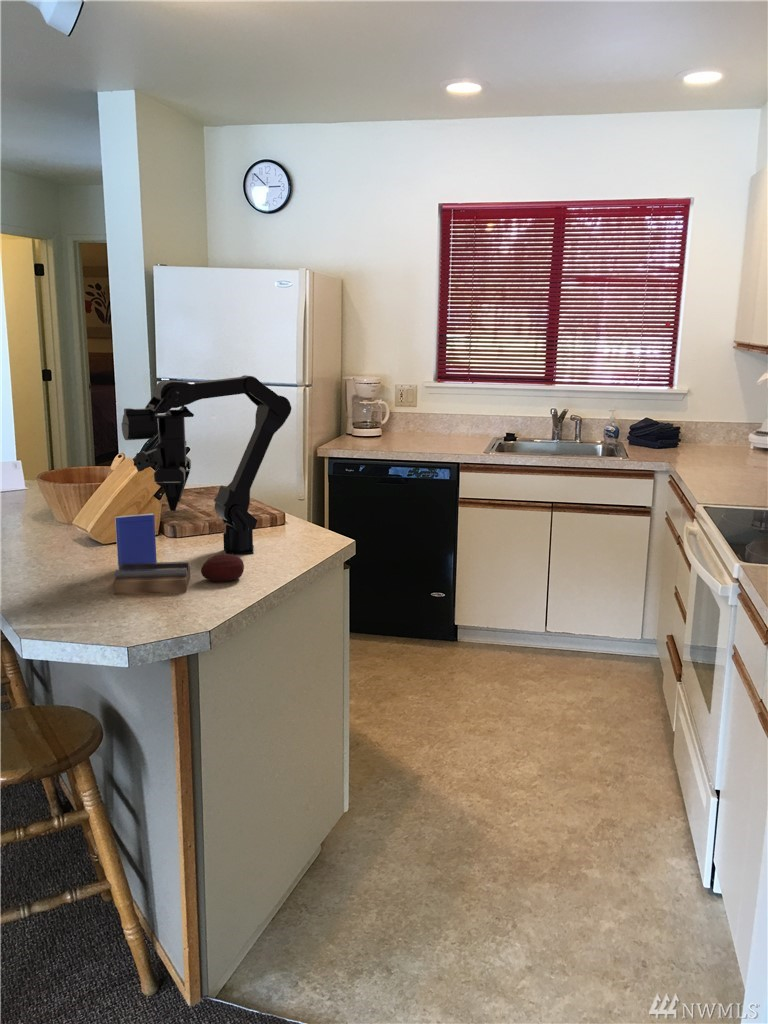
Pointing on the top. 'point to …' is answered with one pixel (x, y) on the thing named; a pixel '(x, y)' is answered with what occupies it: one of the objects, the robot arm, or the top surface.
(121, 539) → the hard drive
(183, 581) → the drive stand
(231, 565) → the potato
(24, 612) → the top surface
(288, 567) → the top surface
